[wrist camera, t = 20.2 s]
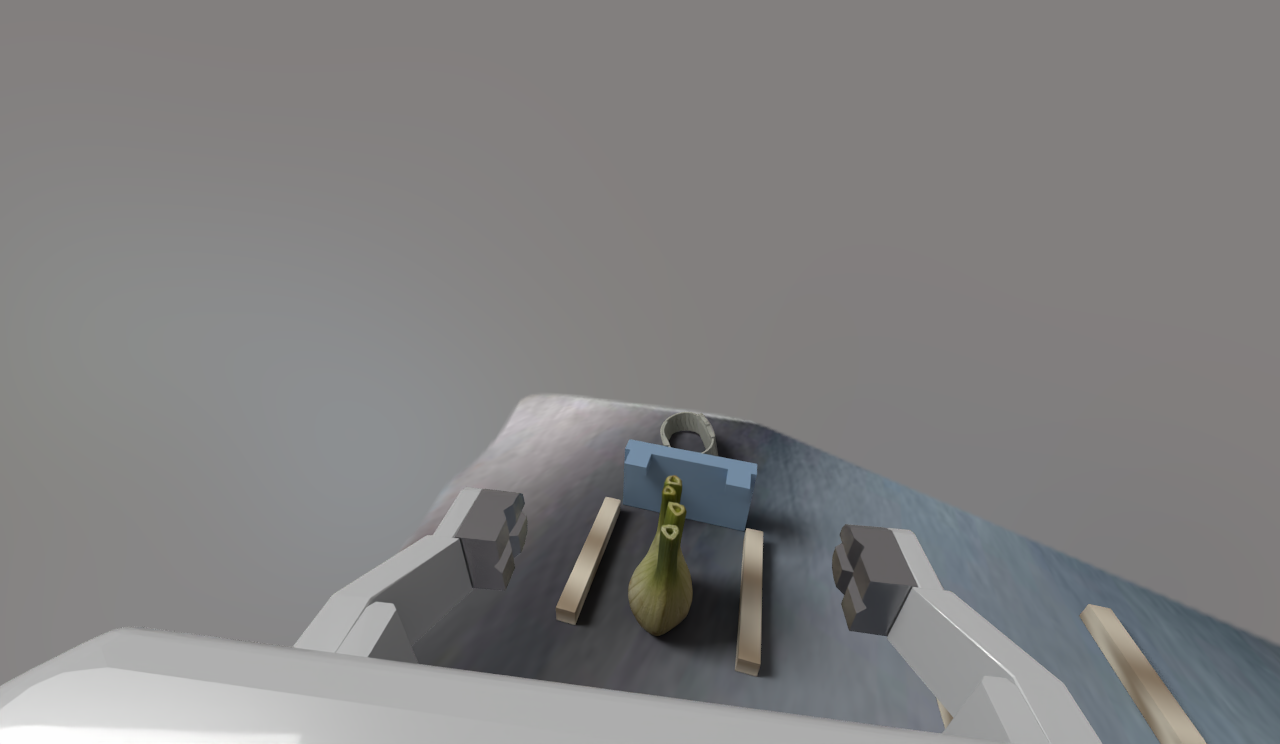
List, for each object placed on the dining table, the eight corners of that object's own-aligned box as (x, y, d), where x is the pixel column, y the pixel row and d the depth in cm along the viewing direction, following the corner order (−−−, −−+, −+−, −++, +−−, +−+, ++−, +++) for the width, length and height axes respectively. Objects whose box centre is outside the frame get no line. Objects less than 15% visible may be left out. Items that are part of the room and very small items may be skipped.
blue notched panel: (743, 547, 41) (756, 490, 38) (617, 518, 44) (619, 462, 40) (745, 519, 44) (757, 464, 41) (627, 494, 47) (629, 439, 43)
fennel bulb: (666, 659, 32) (681, 542, 27) (611, 622, 35) (614, 506, 29) (702, 598, 37) (721, 486, 31) (650, 568, 39) (660, 459, 33)
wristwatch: (726, 477, 50) (733, 441, 48) (671, 484, 49) (675, 447, 46) (698, 429, 58) (703, 395, 55) (650, 434, 56) (653, 400, 54)
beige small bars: (1229, 810, 26) (1246, 799, 26) (556, 619, 35) (556, 607, 34) (1100, 620, 37) (1110, 608, 36) (605, 508, 45) (605, 496, 44)
